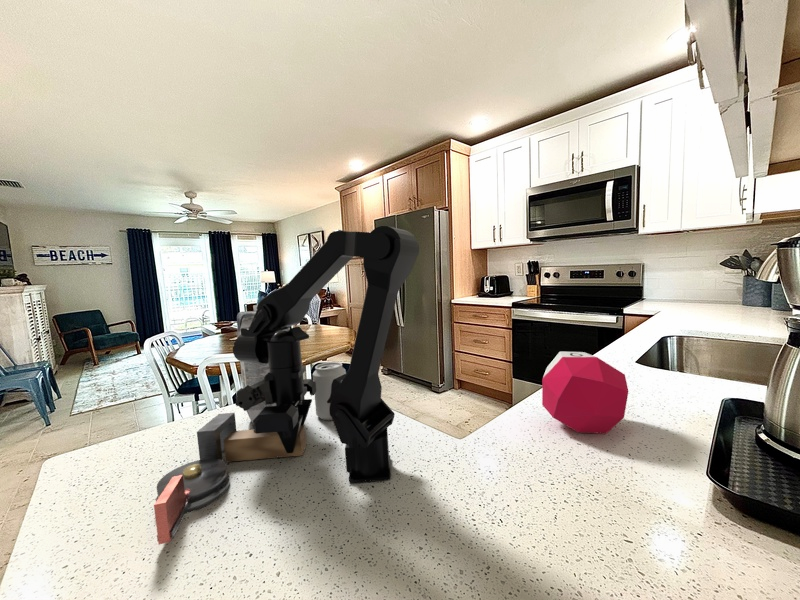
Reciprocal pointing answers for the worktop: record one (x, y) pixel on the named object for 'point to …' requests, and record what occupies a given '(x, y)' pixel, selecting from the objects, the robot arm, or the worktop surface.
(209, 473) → the handwheel
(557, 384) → the decorative object
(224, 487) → the disc
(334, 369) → the can
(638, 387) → the worktop surface
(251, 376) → the juice carton
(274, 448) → the brown rectangular bar
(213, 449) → the iron eye
